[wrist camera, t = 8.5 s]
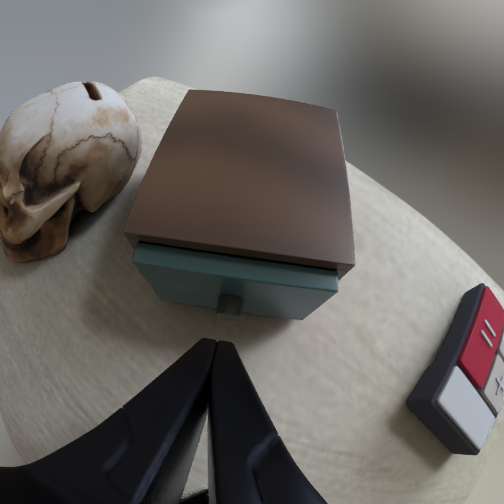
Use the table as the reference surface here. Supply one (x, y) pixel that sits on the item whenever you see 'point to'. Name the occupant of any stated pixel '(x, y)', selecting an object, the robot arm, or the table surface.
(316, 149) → the cabinet
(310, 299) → the drawer
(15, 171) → the coin bank
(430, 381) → the calculator
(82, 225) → the table surface
